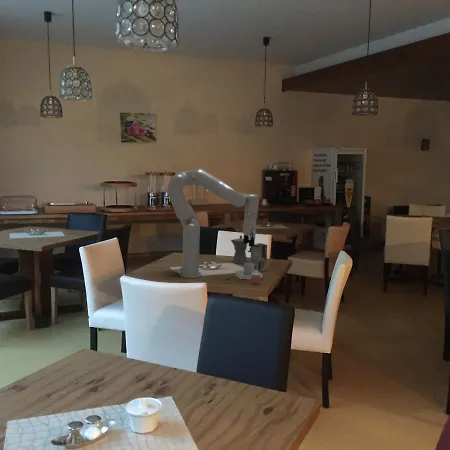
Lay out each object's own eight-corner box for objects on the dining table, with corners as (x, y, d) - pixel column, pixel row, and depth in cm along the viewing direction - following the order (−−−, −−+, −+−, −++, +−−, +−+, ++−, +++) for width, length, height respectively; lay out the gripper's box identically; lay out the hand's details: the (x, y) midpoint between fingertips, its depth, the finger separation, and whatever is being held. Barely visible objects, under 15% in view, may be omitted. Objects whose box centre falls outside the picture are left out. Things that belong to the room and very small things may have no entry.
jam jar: (252, 285, 282) (253, 274, 281) (249, 282, 287) (250, 272, 286) (261, 284, 283) (262, 274, 282) (258, 282, 288) (258, 271, 287)
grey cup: (245, 276, 295) (245, 264, 294) (242, 274, 301) (242, 262, 300) (255, 276, 297) (255, 264, 296) (251, 273, 303) (252, 262, 302)
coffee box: (258, 268, 321) (259, 242, 319) (266, 270, 317) (267, 244, 315) (249, 270, 314) (250, 244, 312) (258, 272, 310) (259, 246, 308)
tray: (241, 279, 292) (241, 275, 291) (234, 274, 303) (235, 270, 303) (262, 278, 295) (262, 274, 295) (255, 273, 307) (255, 269, 306)
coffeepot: (228, 263, 331) (229, 236, 328) (230, 260, 340) (231, 233, 337) (252, 265, 329) (253, 237, 326) (253, 262, 338) (255, 235, 335)
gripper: (240, 213, 301) (237, 241, 303) (249, 217, 285) (247, 247, 287) (252, 213, 303) (249, 241, 306) (262, 218, 287) (259, 247, 289)
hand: (248, 244), depth 296 cm, fingers open, 9 cm apart
